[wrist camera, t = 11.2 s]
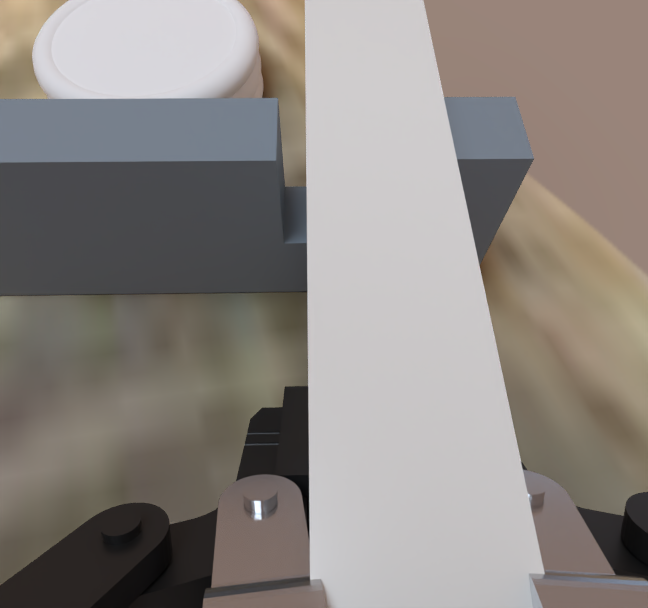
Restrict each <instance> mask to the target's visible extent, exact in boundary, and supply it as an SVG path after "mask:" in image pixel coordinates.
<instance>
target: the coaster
mask: <svg viewBox="0 0 648 608" xmlns="http://www.w3.org/2000/svg"><path fill="white" fill-rule="evenodd" d="M32 60H33V66H34V71H35V75H36V78H37V80H38V83H39V85H40V86H41V88H42V89H43V91H44V92H45V93H46V94H47V97H48V99H162V98H262V95H263V77H262V73H261V57H260V54H259V36H258V33H257V29H256V26H255V24H254V22H253V20H252V18H251V16H250V14H249V13H248V11H247V10H246V9H245V7H244V6H243V5H242V4H241V3H240V2H239V1H237V0H69V1H67V2H66V3H65V4H63V5H62V6H61V7H60V8H58V9H57V10H56V11H55V12H54V13H53V14H52V15H51V16H50V17H49V18H48V20H47V21H46V22H45V24H44V25H43V26H42V28H41V30H40V32H39V34H38V36H37V37H36V40H35V43H34V46H33V54H32Z"/></svg>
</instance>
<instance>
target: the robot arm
mask: <svg viewBox="0 0 648 608" xmlns="http://www.w3.org/2000/svg"><path fill="white" fill-rule="evenodd" d="M521 464H522V469H523V473H524V478H525V483H526V488H527V492H528V497H529V502H530V506H531V511H532V516H533V521H534V525H535V530H536V535H537V539H538V544H539V549H540V554H541V558H542V563H543V568H544V572H545V574H535V573H529V581H530V589H531V597H532V605H533V608H648V492H643V493H638V494H635V495H633V496H631V497H630V498H629V499H628V500H627V502H626V506H625V512H624V516H621V515H615V514H610V513H605V512H599V511H594V510H589V509H584V508H580V507H577V506H575V504H574V503H573V501H572V499H571V498H570V496H569V494H568V493H567V492H566V490H565V489H564V488H563V487H562V486H561V485H559V484H558V483H557V482H555V481H553V480H552V479H550V478H548V477H546V476H544V475H541V474H538V473H535V472H532V471H528V470H527V469H526V467H525V466H524V465H523V463H522V462H521ZM0 608H326V604H325V598H324V592H323V587H322V582H321V579H313V580H310V523H309V408H308V386H295V387H285V390H284V399H283V407H279V408H262V409H260V410H259V411H258V412H257V413H256V414H255V415H254V416H253V417H252V418H251V419H250V424H249V428H248V434H247V437H246V441H245V446H244V450H243V454H242V458H241V463H240V467H239V471H238V476H237V480H236V482H234V483H233V484H231V485H230V486H228V487H227V488H226V489H225V490H224V492H223V493H222V494H221V496H220V498H219V503H218V508H217V509H216V510H214V511H212V512H210V513H208V514H206V515H204V516H201V517H198V518H194V519H191V520H187V521H183V522H179V523H175V524H171V525H169V518H168V516H167V514H166V513H165V511H164V510H162V509H161V508H160V507H157V506H155V505H152V504H148V503H129V504H123V505H119V506H116V507H112V508H110V509H107V510H105V511H103V512H101V513H99V514H97V515H95V516H94V517H92V518H91V519H90V520H88V521H87V522H85V523H84V524H83V525H81V526H80V527H79V528H77V529H76V530H75V531H73V532H72V533H71V534H69V535H68V536H67V537H65V538H64V539H63V540H61V541H60V542H58V543H57V544H56V545H54V546H53V547H52V548H50V549H49V550H48V551H46V552H45V553H44V554H42V555H41V556H40V557H38V558H37V559H36V560H34V561H33V562H31V563H30V564H29V565H27V566H26V567H25V568H23V569H22V570H21V571H19V572H18V573H17V574H15V575H14V576H13V577H11V578H10V579H9V580H7V581H6V582H5V583H3V584H2V585H0Z"/></svg>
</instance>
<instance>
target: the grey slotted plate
mask: <svg viewBox="0 0 648 608" xmlns="http://www.w3.org/2000/svg"><path fill="white" fill-rule="evenodd" d="M444 101H445V105H446V110H447V115H448V120H449V124H450V129H451V134H452V138H453V143H454V148H455V153H456V157H457V162H458V167H459V171H460V176H461V181H462V186H463V190H464V195H465V200H466V205H467V209H468V214H469V219H470V223H471V228H472V233H473V238H474V242H475V247H476V252H477V256H478V261H479V265H480V264H481V262H482V260H483V258H484V256H485V254H486V252H487V250H488V248H489V246H490V244H491V242H492V240H493V238H494V236H495V234H496V232H497V230H498V228H499V226H500V224H501V222H502V220H503V218H504V216H505V215H506V213H507V211H508V209H509V207H510V205H511V203H512V201H513V199H514V197H515V195H516V193H517V191H518V189H519V187H520V185H521V183H522V181H523V179H524V177H525V175H526V173H527V171H528V169H529V168H530V165H531V164H532V162H533V160H534V157H533V154H532V151H531V147H530V144H529V141H528V137H527V134H526V131H525V128H524V125H523V121H522V118H521V114H520V111H519V108H518V105H517V101H516V98H515V97H444ZM303 291H307V187H285V182H284V169H283V156H282V143H281V130H280V117H279V105H278V98H162V99H0V296H2V295H77V294H152V293H228V292H303Z"/></svg>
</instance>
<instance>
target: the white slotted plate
mask: <svg viewBox="0 0 648 608" xmlns="http://www.w3.org/2000/svg"><path fill="white" fill-rule="evenodd" d="M305 62H306V177H307V293H308V408H309V523H310V580H313V579H321V582H322V587H323V592H324V598H325V604H326V608H533V605H532V597H531V589H530V581H529V573H535V574H545V572H544V568H543V563H542V558H541V554H540V549H539V544H538V539H537V535H536V530H535V525H534V521H533V516H532V511H531V506H530V502H529V497H528V492H527V488H526V483H525V478H524V473H523V469H522V464H521V459H520V455H519V450H518V445H517V440H516V436H515V431H514V426H513V421H512V417H511V412H510V407H509V403H508V398H507V393H506V388H505V384H504V379H503V374H502V370H501V365H500V360H499V355H498V351H497V346H496V341H495V337H494V332H493V327H492V322H491V318H490V313H489V308H488V304H487V299H486V294H485V289H484V285H483V280H482V275H481V271H480V266H479V261H478V256H477V252H476V247H475V242H474V238H473V233H472V228H471V223H470V219H469V214H468V209H467V205H466V200H465V195H464V190H463V186H462V181H461V176H460V171H459V167H458V162H457V157H456V153H455V148H454V143H453V138H452V134H451V129H450V124H449V120H448V115H447V110H446V105H445V101H444V96H443V91H442V87H441V82H440V77H439V72H438V68H437V63H436V58H435V54H434V49H433V44H432V39H431V35H430V30H429V25H428V21H427V16H426V11H425V6H424V2H423V0H305Z"/></svg>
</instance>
